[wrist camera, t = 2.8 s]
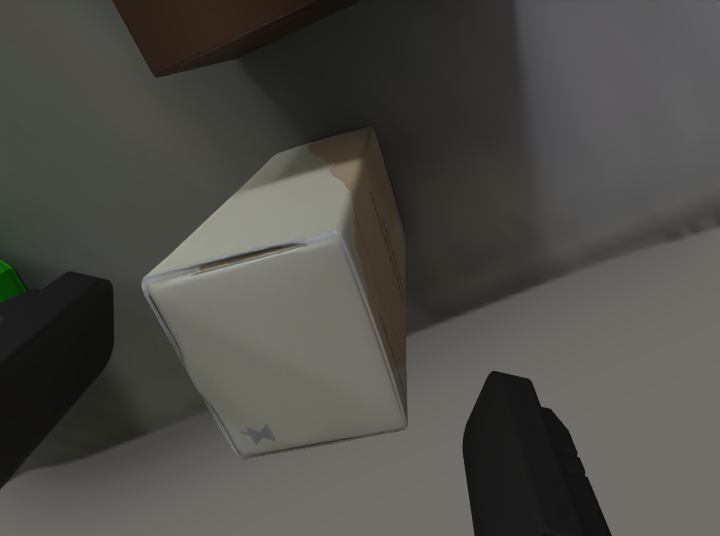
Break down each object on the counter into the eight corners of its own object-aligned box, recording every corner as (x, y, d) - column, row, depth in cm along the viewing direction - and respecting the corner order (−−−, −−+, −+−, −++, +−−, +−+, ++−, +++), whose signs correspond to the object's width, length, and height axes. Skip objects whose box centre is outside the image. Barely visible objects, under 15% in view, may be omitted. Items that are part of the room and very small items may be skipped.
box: (407, 239, 20) (415, 444, 10) (311, 263, 21) (237, 473, 11) (372, 116, 18) (342, 229, 8) (267, 148, 19) (126, 285, 9)
